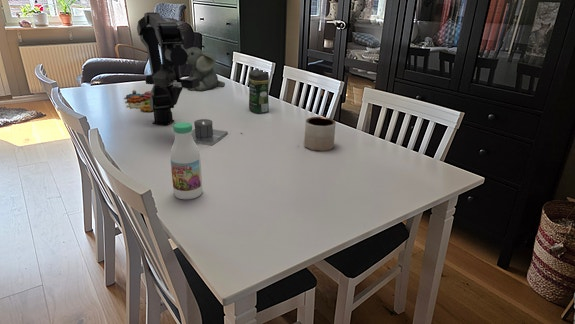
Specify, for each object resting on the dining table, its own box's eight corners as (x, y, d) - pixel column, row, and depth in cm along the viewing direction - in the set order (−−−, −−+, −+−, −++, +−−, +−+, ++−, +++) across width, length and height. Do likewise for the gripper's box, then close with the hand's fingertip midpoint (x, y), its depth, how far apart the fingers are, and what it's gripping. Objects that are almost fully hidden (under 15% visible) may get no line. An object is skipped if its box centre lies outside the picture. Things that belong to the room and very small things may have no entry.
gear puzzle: (167, 112, 173) (166, 103, 172) (128, 116, 167) (127, 106, 165) (157, 95, 199) (156, 87, 197) (123, 98, 192) (122, 89, 191)
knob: (195, 132, 147) (194, 119, 145) (212, 131, 148) (211, 118, 146) (195, 138, 141) (194, 124, 139) (213, 137, 142) (212, 123, 140)
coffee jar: (246, 109, 180) (245, 69, 172) (261, 107, 184) (261, 67, 176) (256, 114, 172) (255, 73, 165) (271, 112, 176) (271, 71, 169)
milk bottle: (176, 186, 109) (170, 119, 101) (204, 186, 110) (199, 119, 102) (171, 200, 102) (163, 129, 94) (201, 200, 103) (196, 129, 95)
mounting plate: (180, 140, 141) (179, 128, 139) (197, 129, 153) (197, 117, 151) (212, 145, 138) (211, 132, 136) (227, 133, 149) (227, 121, 147)
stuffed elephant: (174, 89, 208) (170, 37, 197) (197, 82, 226) (194, 34, 214) (204, 94, 201) (201, 40, 190) (225, 86, 219) (224, 36, 208)
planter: (336, 143, 144) (338, 118, 140) (329, 153, 135) (332, 128, 131) (308, 139, 147) (310, 115, 143) (300, 149, 138) (301, 123, 134)
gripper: (132, 62, 128) (138, 107, 135) (181, 67, 124) (185, 113, 130) (152, 57, 138) (157, 99, 145) (199, 61, 133) (201, 105, 140)
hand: (174, 104), depth 139 cm, fingers closed
